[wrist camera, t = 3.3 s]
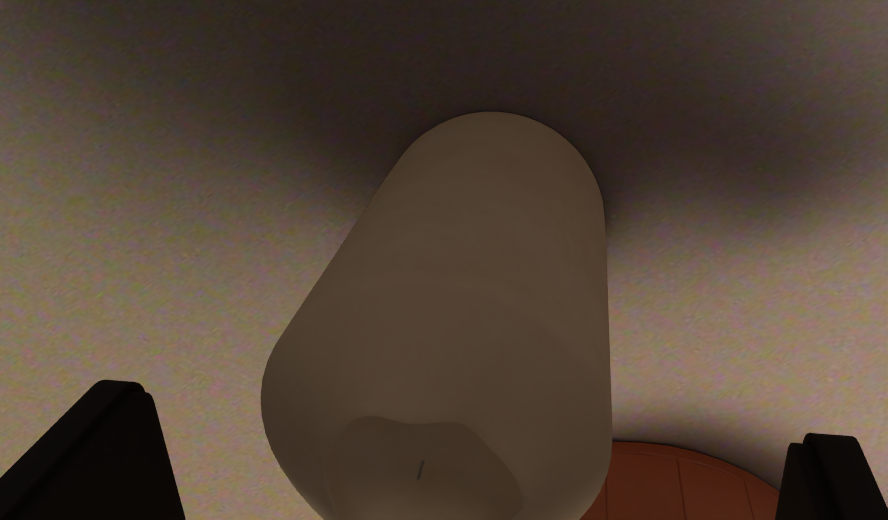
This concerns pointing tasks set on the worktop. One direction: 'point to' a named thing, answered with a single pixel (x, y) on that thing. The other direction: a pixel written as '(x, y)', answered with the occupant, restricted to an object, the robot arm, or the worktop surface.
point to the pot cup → (678, 487)
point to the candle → (455, 339)
